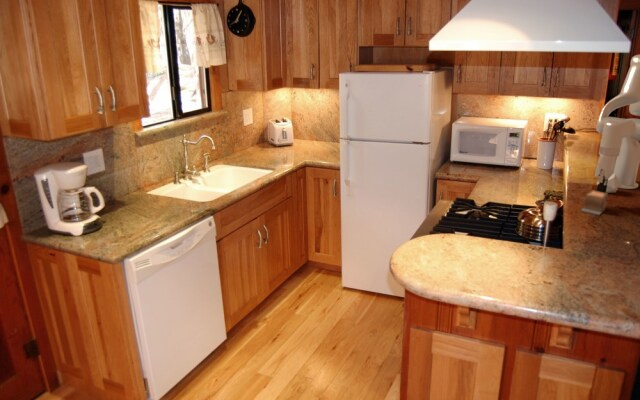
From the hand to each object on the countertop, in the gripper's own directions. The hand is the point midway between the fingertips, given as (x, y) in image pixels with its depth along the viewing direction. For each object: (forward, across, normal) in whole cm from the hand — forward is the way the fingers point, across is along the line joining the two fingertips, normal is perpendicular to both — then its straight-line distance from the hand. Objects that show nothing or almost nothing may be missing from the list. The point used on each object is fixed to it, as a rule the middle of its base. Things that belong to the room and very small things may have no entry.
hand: (600, 193), depth 216 cm
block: (+2, +2, 0) cm, 3 cm away
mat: (+5, +8, 0) cm, 10 cm away
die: (+5, -21, -2) cm, 22 cm away
